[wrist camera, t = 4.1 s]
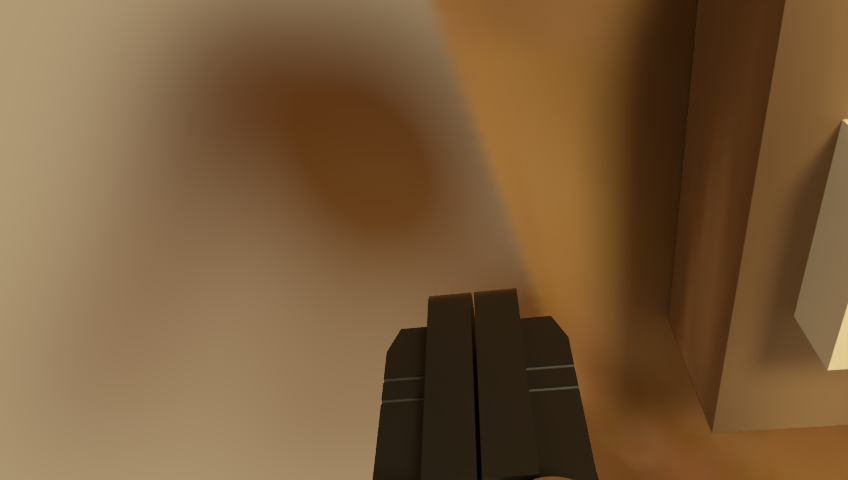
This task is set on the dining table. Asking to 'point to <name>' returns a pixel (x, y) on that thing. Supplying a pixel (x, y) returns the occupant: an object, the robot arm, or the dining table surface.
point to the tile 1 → (829, 268)
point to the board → (757, 209)
